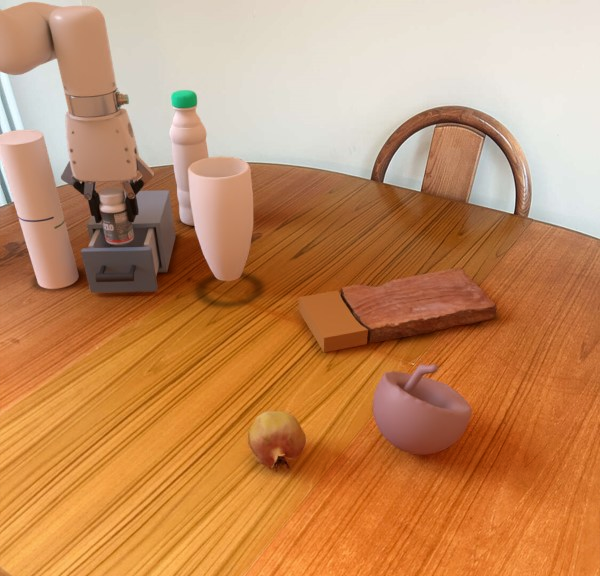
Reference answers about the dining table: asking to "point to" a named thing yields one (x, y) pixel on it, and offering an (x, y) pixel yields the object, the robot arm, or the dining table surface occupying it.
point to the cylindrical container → (38, 207)
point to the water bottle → (186, 146)
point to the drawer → (123, 262)
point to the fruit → (276, 439)
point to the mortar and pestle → (419, 411)
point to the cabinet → (151, 221)
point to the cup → (222, 213)
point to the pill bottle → (115, 216)
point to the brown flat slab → (395, 309)
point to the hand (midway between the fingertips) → (116, 218)
